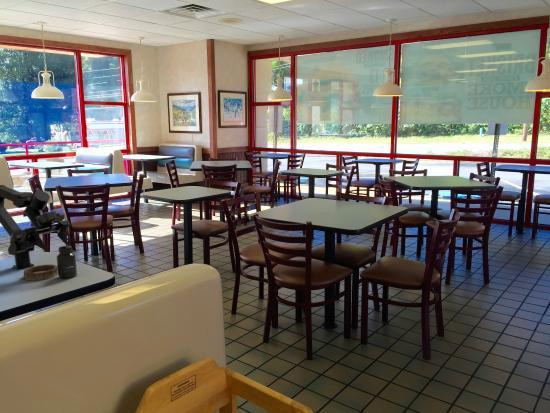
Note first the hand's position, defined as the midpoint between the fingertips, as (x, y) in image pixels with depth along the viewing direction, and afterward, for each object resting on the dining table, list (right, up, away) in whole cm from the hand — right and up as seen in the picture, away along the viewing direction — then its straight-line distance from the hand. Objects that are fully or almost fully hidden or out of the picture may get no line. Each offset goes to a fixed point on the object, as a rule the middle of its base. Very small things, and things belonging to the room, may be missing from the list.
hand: (56, 246), depth 186 cm
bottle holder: (-7, -12, +1) cm, 14 cm away
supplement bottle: (+5, -12, -1) cm, 13 cm away
